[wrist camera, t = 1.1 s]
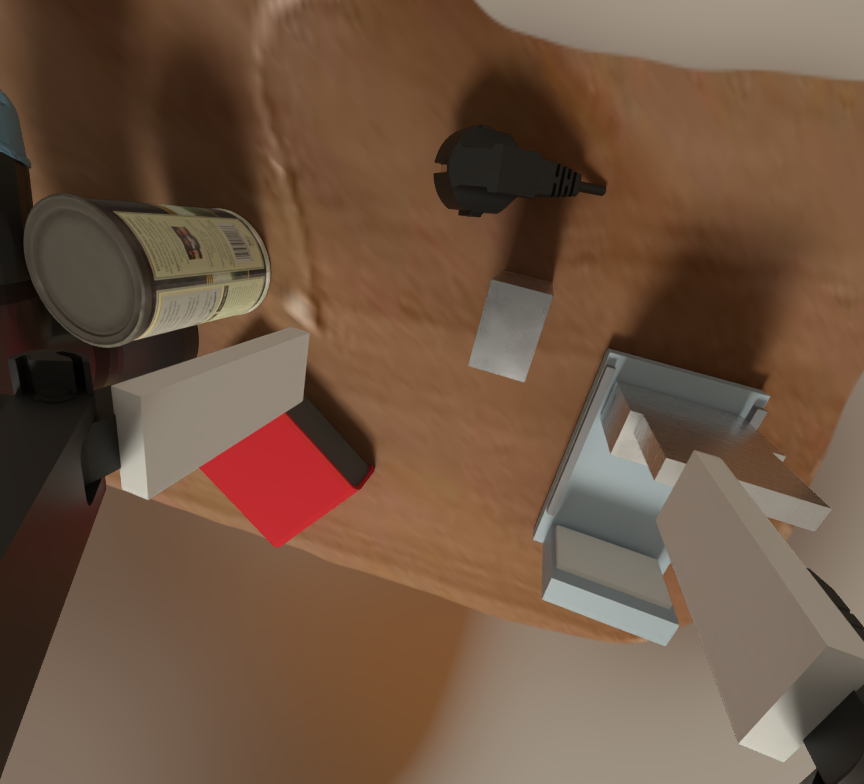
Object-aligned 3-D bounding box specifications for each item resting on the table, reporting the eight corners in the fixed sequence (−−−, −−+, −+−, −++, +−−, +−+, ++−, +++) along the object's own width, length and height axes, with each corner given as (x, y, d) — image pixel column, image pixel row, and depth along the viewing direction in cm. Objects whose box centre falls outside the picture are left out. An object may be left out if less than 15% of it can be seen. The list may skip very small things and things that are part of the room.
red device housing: (201, 415, 49) (166, 433, 45) (266, 343, 43) (233, 355, 39) (301, 523, 51) (277, 550, 46) (376, 467, 45) (357, 493, 40)
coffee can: (170, 271, 43) (10, 284, 30) (206, 184, 39) (37, 156, 26) (244, 336, 43) (117, 376, 31) (289, 257, 39) (162, 265, 26)
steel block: (486, 337, 37) (468, 365, 28) (505, 270, 34) (491, 279, 26) (530, 350, 36) (524, 382, 28) (552, 282, 34) (553, 295, 25)
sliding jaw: (599, 417, 34) (624, 504, 23) (615, 380, 33) (650, 452, 22) (719, 454, 33) (808, 565, 22) (741, 416, 32) (849, 514, 20)
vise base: (533, 529, 42) (530, 594, 34) (607, 347, 34) (624, 379, 26) (653, 572, 40) (678, 651, 32) (761, 389, 32) (827, 436, 25)
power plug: (600, 232, 31) (458, 212, 26) (539, 227, 37) (416, 210, 32) (622, 146, 29) (471, 107, 24) (553, 156, 35) (423, 127, 30)
